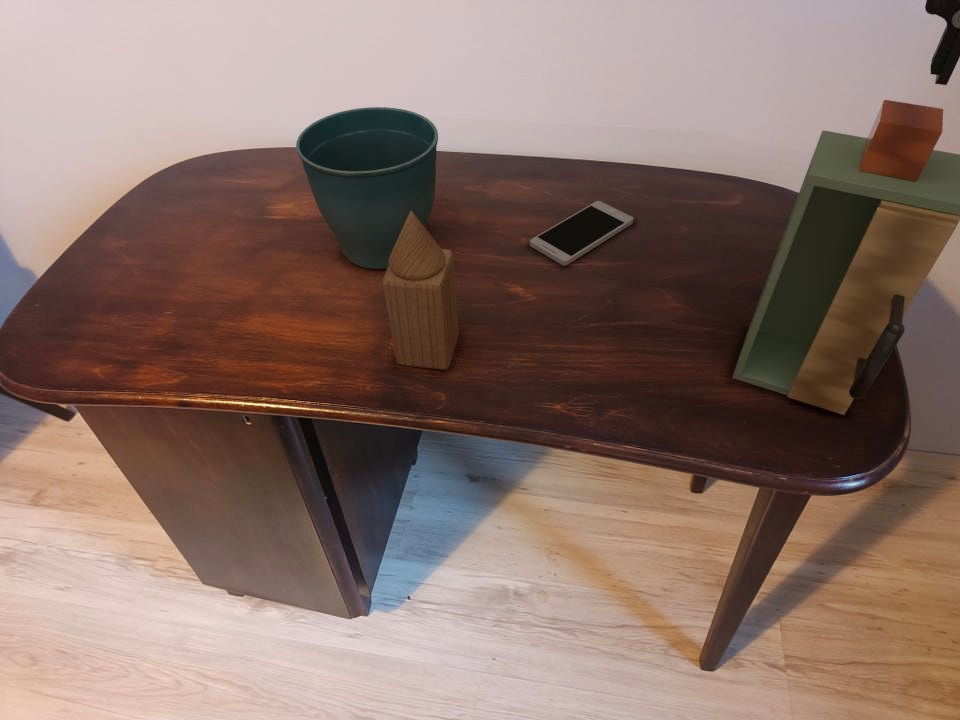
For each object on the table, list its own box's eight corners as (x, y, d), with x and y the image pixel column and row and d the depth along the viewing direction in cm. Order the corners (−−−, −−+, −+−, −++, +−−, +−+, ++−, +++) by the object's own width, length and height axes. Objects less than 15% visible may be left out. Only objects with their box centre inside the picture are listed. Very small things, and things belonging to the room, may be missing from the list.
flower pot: (422, 201, 102) (411, 96, 90) (465, 263, 90) (459, 151, 78) (311, 229, 97) (283, 122, 85) (341, 298, 85) (313, 185, 73)
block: (918, 158, 56) (943, 108, 53) (916, 182, 53) (942, 131, 50) (863, 148, 58) (884, 99, 54) (858, 171, 55) (879, 120, 52)
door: (844, 411, 68) (956, 223, 51) (838, 451, 64) (956, 263, 48) (787, 393, 70) (877, 206, 53) (778, 430, 66) (871, 243, 50)
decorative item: (395, 366, 76) (369, 225, 62) (408, 329, 81) (388, 189, 66) (449, 372, 75) (436, 230, 61) (460, 334, 80) (450, 193, 66)
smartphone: (634, 222, 96) (635, 217, 95) (564, 266, 89) (565, 261, 88) (597, 204, 100) (598, 199, 99) (528, 245, 93) (528, 240, 92)
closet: (853, 360, 75) (967, 155, 56) (843, 417, 69) (968, 209, 50) (748, 330, 79) (822, 129, 60) (730, 381, 73) (807, 177, 54)
